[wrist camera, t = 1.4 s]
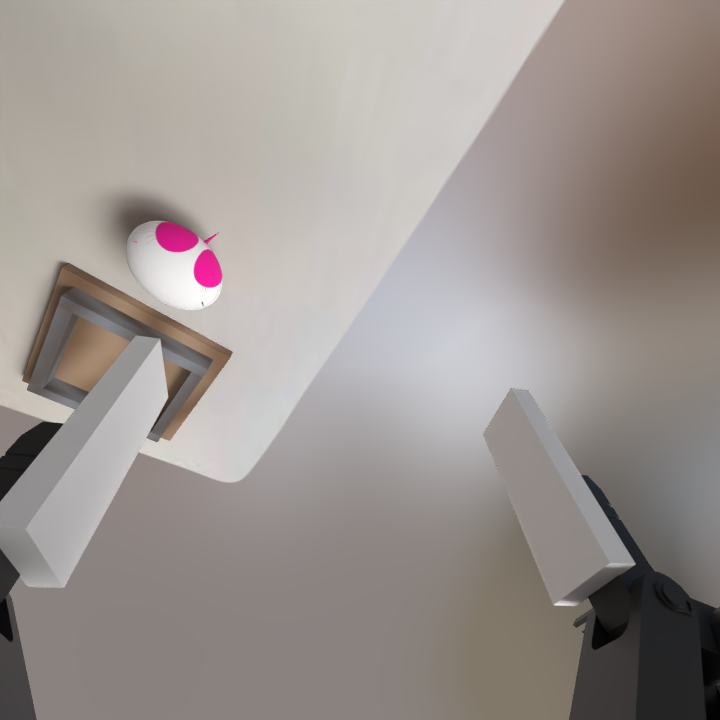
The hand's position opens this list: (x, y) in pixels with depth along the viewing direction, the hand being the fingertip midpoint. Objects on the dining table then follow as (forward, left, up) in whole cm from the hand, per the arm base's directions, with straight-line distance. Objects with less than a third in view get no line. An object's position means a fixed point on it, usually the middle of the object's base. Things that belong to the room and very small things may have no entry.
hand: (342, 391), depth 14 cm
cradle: (-9, -26, -22) cm, 35 cm away
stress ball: (-9, -9, -22) cm, 25 cm away
